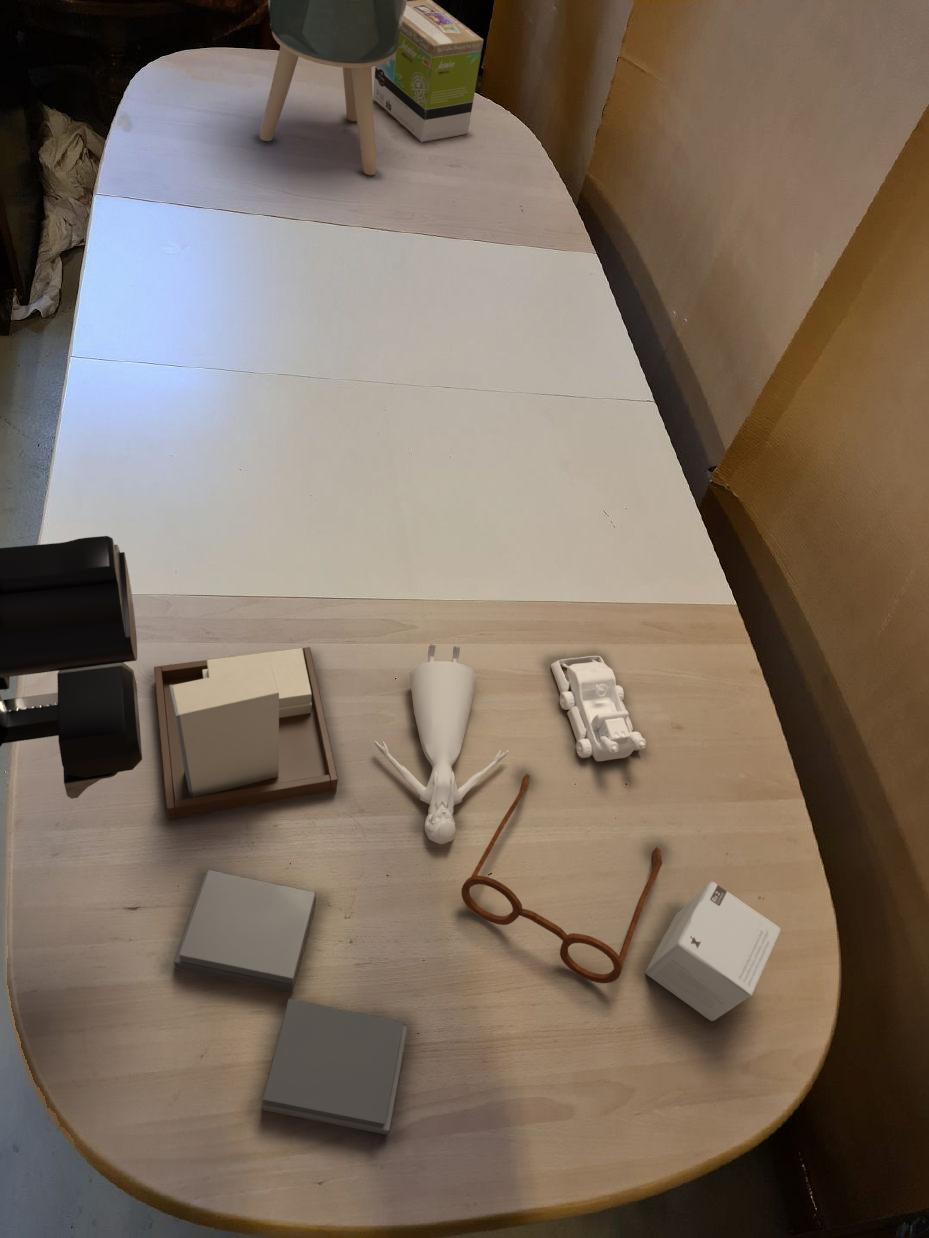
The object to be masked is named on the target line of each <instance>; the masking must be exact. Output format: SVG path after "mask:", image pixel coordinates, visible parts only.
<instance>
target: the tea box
mask: <svg viewBox="0 0 929 1238" xmlns="http://www.w3.org/2000/svg"><path fill="white" fill-rule="evenodd" d="M483 46H484V38H482V37H481V36H479V35H478V34H476V33H475V32H474V31H473V30H471V29H470V28H469V27H467V26H466V25H465V24H464V23H462V22H461V21H459V20H458V19H457V18H455V17H454V16H453V15H451V14H450V13H449V12H448V11H446V9H444V8H442V7H441V6H440V5H438V4H437V2H434V1H433V0H407V3H406V8H405V12H404V17H403V22H402V26H401V31H400V37H399V44H398V48H397V50H396V53H395V55H394V57H393V58H392V59H391V60H389V61H388V62H386V63H384V64H381V65H378V66H374V78H373V79H374V80H373V91H372V95H373V101H375V103H377V104H378V105H380V106H381V107H382V108H383V109H384V110H385V111H387V113H389V114H390V115H391V116H392V117H393V118H395V119H396V121H398V122H399V124H401V125H402V126H403V127H405V129H407V130H408V131H409V132H410V133H411V134H412V135H413V136H415V138H416V139H417V140H418V141H419V142H420V143H424V142H425V143H426V142H431V141H436V140H441V139H447V138H453V137H457V136H462V135H466V134H468V133H469V127H470V122H471V116H472V110H473V104H474V98H475V92H476V86H477V81H478V77H479V76H478V75H479V69H480V64H481V58H482V50H483Z"/></svg>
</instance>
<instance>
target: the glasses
mask: <svg viewBox="0 0 929 1238" xmlns="http://www.w3.org/2000/svg"><path fill="white" fill-rule="evenodd" d="M530 777H531V775H530V774H529V773H525V775H524V776H523V777H522V781H521V785H520V789H519V793H518V794H517V796H516V798H515V799H514V800H513V802H512V804H511V806H510V807H509V809H508V810H507V811H506V813H505V815H504V817H503V818H502V819H501V821H500V823H499V825H498V827H497V828H496V830H495V831H494V834H493V836H492V838H491V840H490V841H489V843H488V845H487V847H486V848H485V850H484V852H483V854H482V856H481V857H480V859H479V861H478V863H477V865H476V866H475V868H474V870H473V872H472V874H471V875H470V877H468V878H467V879H465V881H464V883H463V885H462V887H461V892H460V893H461V898H462V900H463V903H464V904H465V905H466V906H467V908H469V910H470V911H472V913H474V914H475V915H477V916H478V917H479V918H482V919H483V920H485V921H487V922H489V923H491V924H495V925H501V926H507V925H510V924H512V923H514V922H515V921H516V920H517V919H518V917H523V918H525V919H527V920H530V921H532V922H533V923H535V924H537V925H538V926H540V927H542V928H544V929H545V930H547V931H549V932H550V933H553V935H555V936H557V937H558V938H559V939H560V940H561V941H562V943H561V945H560V949H559V956H560V959H561V961H562V962H563V964H564V965H565V966H566V967H567V968H568V969H570V971H572V972H573V973H575V974H577V975H578V976H579V977H582V978H583V979H585V980H588V981H590V982H594V983H596V984H597V983H598V984H610V983H613V982H615V981H617V980H618V979H619V978H620V976H621V974H622V971H623V966H624V963H625V960H626V957H627V954H628V951H629V949H630V945H631V943H632V939H633V938H634V934H635V931H636V928H637V926H638V922H639V920H640V917H641V914H642V912H643V908H644V905H645V903H646V900H647V898H648V895H649V893H650V891H651V889H652V887H653V885H654V883H655V880H656V879H657V877H658V874H659V871H660V870H661V867H662V865H663V860H662V859H663V858H662V853H661V848H660V847H658V846H656V847H655V848H654V849H653V850H652V851H651V852H652V860H653V867H652V870H651V872H650V874H649V877H648V879H647V881H646V884H645V886H644V889H643V890H642V893H641V894H640V897H639V898H638V902H637V904H636V907H635V910H634V913H633V916H632V918H631V921H630V923H629V927H628V929H627V932H626V935H625V938H624V940H623V943H622V947H621V949H620V952H619V954H618V952H616V951H615V950H614V949H613V948H612V947H611V946H610V945H608V944H607V943H605V942H604V941H601V940H599V939H598V938H595V937H594V936H590V935H587V934H582V933H574V932H573V933H568V934H567V932H565V931H564V929H562V927H560V926H558V925H557V924H555V923H554V922H552V921H551V920H549V919H548V918H545V917H544V916H542V915H540V914H539V913H537V912H535V911H533V910H529V909H526V908H523V904H522V902H521V900H520V899H519V898H518V896H517V895H516V894H515V892H514V891H512V889H511V888H509V887H508V886H506V885H505V884H503V883H502V882H500V881H498V880H496V879H494V878H492V877H490V876H485V875H479V873H480V871H481V869H482V868H483V865H484V864H485V862H486V860H487V859H488V857H489V855H490V853H491V851H492V850H493V848H494V845H495V844H496V842H497V841H498V839H499V837H500V835H501V833H502V831H503V829H504V827H505V826H506V824H507V823H508V821H509V819H510V817H511V816H512V815H513V813H514V811H515V809H516V808H517V806H518V805H519V803H520V801H521V800H522V798H523V796H524V795H525V794H526V791H527V789H528V786H529V781H530ZM477 885H480V886H486V887H489V888H492V889H494V890H496V891H497V892H499V893H500V894H502V895H503V896H504V897H505V898H506V899H507V901H508V902H509V903H510V905H511V907H512V911H511V912H510V913H509V914H507V915H497V914H494V913H491V912H489V911H487V910H486V909H484V908H482V907H481V906H479V905H478V904H477V902H475V900H474V899H473V897H472V896H471V888H472V887H474V886H477ZM573 944H583V945H588V946H590V947H593V948H595V949H597V950H599V951H600V952H602V953H603V954H604V955H606V956H607V957H608V958H609V959H610V961H611V963H612V965H613V970H611V971H610V972H608V973H596V972H593V971H590V970H588V969H586V968H584V967H582V966H581V965H579V964H578V963H576V962H575V961H574V959H572V957H571V955H570V953H569V948H570V946H572V945H573Z"/></svg>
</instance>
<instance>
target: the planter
mask: <svg viewBox="0 0 929 1238" xmlns="http://www.w3.org/2000/svg"><path fill="white" fill-rule="evenodd" d="M407 1H408V0H267V4H268V13H269V27H270V30H271V34H272V38H273V39H274V40H275V41H276V43H277V44H278V45H279V51H278V55H277V60H276V64H275V67H274V68H275V69H274V73H273V76H272V81H271V86H270V90H269V94H268V97H267V102H266V106H265V109H264V114H263V118H262V122H261V125H260V131H259V139H260V140H261V141H263V142H271V141H272V140H273V139H274V136H275V133H276V129H277V126H278V123H279V120H280V117H281V114H282V111H283V108H284V105H285V103H286V99H287V96H288V93H289V90H290V87H291V83H292V81H293V77H294V74H295V70H296V68H297V67H296V66H297V63H298V60H299V58H301V59H304V60H306V61H310V62H313V63H316V64H320V65H325V66H330V67H335V68H336V67H337V68H342V76H343V88H344V99H345V112H346V118H347V120H349V121H351V122H356V123H357V133H358V140H359V147H360V156H361V163H362V164H361V165H362V171H363V173H364V174H366V175H368V176H374V175H376V173H377V152H376V151H377V150H376V134H375V122H374V121H375V119H374V117H375V116H374V99H373V76H372V75H373V73H372V72H373V71H372V67H375V66H378V65H381V64H384V63H386V62H388V61H389V60H391V59H392V58H393V57H394V55H395V53H396V50H397V48H398V44H399V37H400V31H401V26H402V22H403V17H404V12H405V8H406V3H407Z"/></svg>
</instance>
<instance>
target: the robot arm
mask: <svg viewBox="0 0 929 1238" xmlns="http://www.w3.org/2000/svg"><path fill="white" fill-rule="evenodd" d="M130 579H131V578H130V574H129V568H128V562H127V557H126V553H125V551H121V550H120V546H119V545H118V544H115V542H114V539H113V538H112V537H110V536H109V535H102V536H90V537H81V538H76V539H73V540H68V541H64V542H63V541H62V542H53V543H45V544H44V543H41V544H31V545H19V546H18V545H17V546H8V547H0V691H3V690H4V691H5V690H9V689H10V680H11V679H10V678H11V677H20V676H27V675H35V674H44V673H51V672H57V673H56V674H57V692H53V693H44V694H37V695H30V696H23V697H14V698H6V699H3V697H2V695H1V694H0V748H1V747H2V746H3V744H10V743H15V742H16V743H17V742H23V741H24V742H25V741H29V740H31V741H32V740H36V739H38V740H39V739H44V738H51V737H58V747H59V748H58V749H59V753H60V761H61V765H62V768H63V784H64V785H63V786H64V789H65V793H66V796H67V797H68V798H69V799H72V800H73V799H77V798H79V797H80V796H81V795H82V794H83V793H84V792H85V791H86V790H87V789H88V788H89V787H91V786H93V785H94V784H97V782H99V781H101V780H103V779H110V778H113V777H114V776H116V775H117V774H118V773H122V772H128V771H133V770H134V769H135V768H136V767H137V766H138V764H140V762H141V761H142V760H143V753H142V752H143V751H142V737H141V725H140V713H139V711H140V710H139V698H138V684H137V680H136V676H135V672H134V669H132V668H131V667H130V666H128V665H127V664H126V663H129V662H130V663H131V662H137V661H138V638H137V637H138V636H137V627H136V616H135V610H134V609H135V608H134V602H133V601H134V600H133V593H132V586H131V580H130Z"/></svg>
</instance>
